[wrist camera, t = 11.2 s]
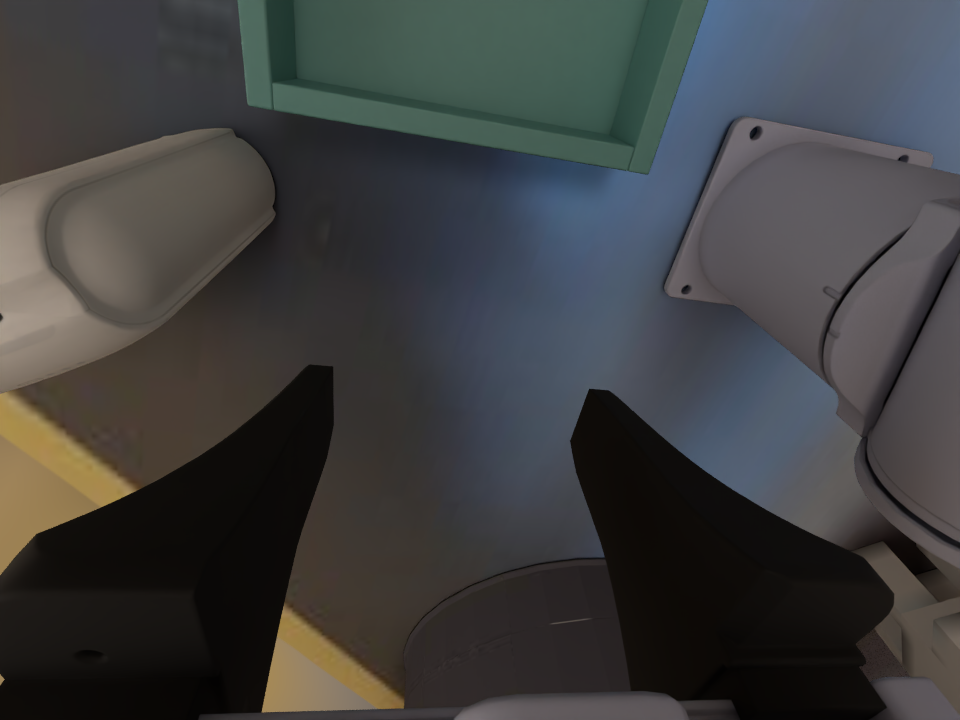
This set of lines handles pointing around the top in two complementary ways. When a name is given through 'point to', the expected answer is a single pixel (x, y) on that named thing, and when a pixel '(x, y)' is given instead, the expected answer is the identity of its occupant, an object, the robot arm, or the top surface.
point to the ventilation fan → (519, 638)
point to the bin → (479, 70)
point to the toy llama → (922, 618)
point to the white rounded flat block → (120, 246)
